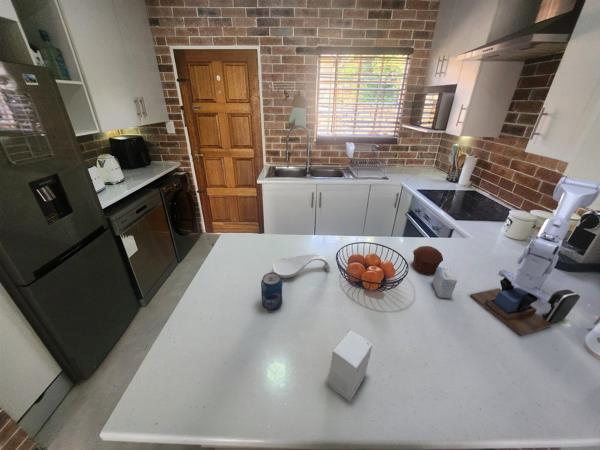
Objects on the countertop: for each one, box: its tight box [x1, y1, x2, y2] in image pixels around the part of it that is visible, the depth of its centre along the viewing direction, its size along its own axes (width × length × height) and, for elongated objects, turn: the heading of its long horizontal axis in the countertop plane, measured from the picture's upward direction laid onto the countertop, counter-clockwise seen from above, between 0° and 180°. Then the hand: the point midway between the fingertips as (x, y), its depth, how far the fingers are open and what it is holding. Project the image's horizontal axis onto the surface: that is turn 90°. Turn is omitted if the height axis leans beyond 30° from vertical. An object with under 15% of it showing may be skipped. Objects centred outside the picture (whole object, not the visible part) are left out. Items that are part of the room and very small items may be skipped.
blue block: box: [493, 288, 532, 314], centre depth 85 cm, size 10×5×6 cm, turn 106°
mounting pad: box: [470, 288, 553, 337], centre depth 86 cm, size 14×18×3 cm
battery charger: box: [541, 289, 581, 323], centre depth 82 cm, size 7×4×11 cm, turn 103°
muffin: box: [412, 245, 444, 275], centre depth 105 cm, size 12×11×10 cm
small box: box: [328, 329, 373, 402], centre depth 60 cm, size 8×6×13 cm
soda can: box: [260, 272, 283, 313], centre depth 82 cm, size 7×7×12 cm
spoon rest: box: [272, 253, 331, 279], centre depth 101 cm, size 24×12×7 cm, turn 103°
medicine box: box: [431, 266, 458, 300], centre depth 93 cm, size 8×4×9 cm, turn 168°
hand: (511, 303), depth 85 cm, fingers closed on blue block, 5 cm apart
